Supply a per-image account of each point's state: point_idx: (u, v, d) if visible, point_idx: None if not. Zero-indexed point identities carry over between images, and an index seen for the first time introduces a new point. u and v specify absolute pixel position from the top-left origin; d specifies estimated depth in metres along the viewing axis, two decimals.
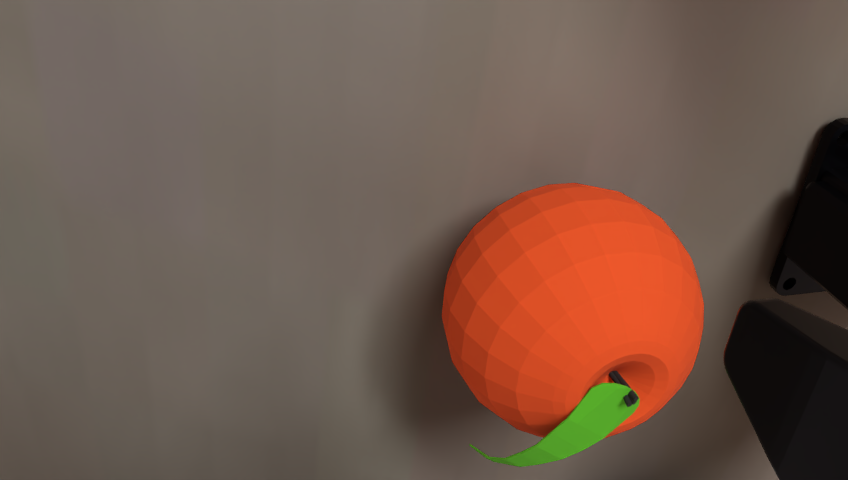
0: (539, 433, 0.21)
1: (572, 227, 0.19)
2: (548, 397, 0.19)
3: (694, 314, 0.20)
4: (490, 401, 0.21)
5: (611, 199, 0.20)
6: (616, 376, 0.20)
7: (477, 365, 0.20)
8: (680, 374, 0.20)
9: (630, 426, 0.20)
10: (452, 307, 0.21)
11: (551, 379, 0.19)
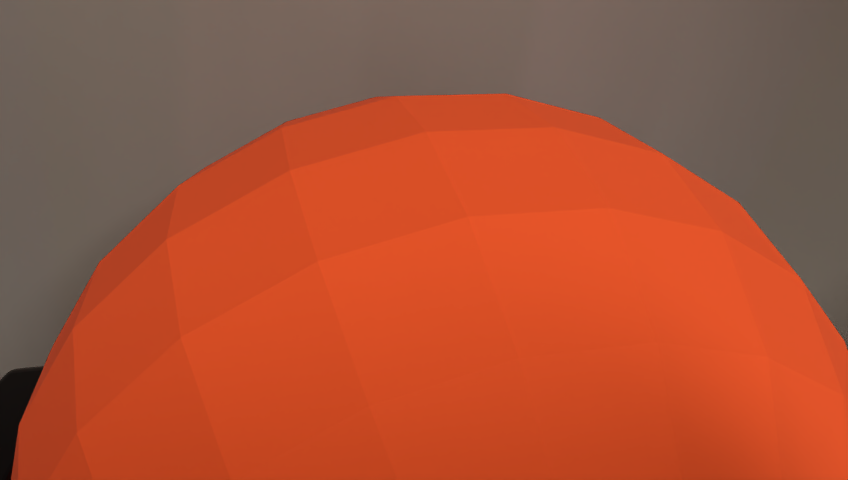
0: None
1: (392, 227, 0.05)
2: None
3: None
4: None
5: (565, 129, 0.06)
6: None
7: None
8: None
9: None
10: None
11: None
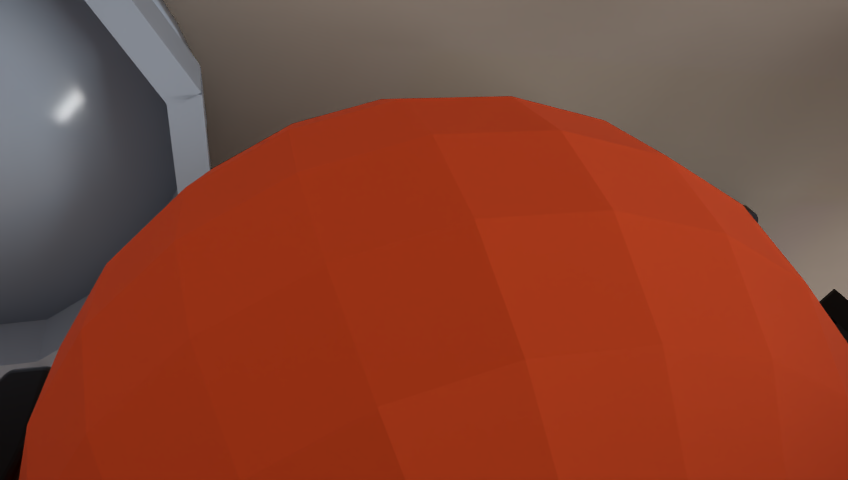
0: None
1: (399, 231, 0.05)
2: None
3: None
4: None
5: (571, 132, 0.06)
6: None
7: None
8: None
9: None
10: None
11: None
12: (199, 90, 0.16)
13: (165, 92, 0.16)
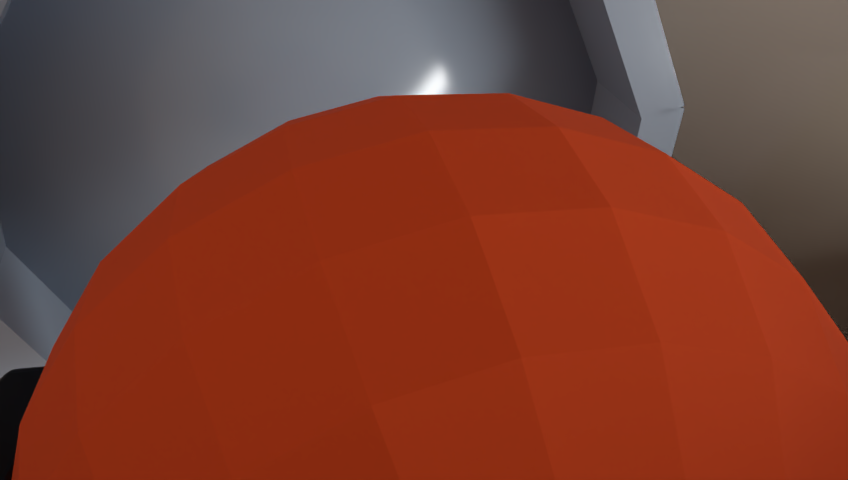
0: None
1: (395, 229, 0.05)
2: None
3: None
4: None
5: (568, 129, 0.06)
6: None
7: None
8: None
9: None
10: None
11: None
12: (682, 102, 0.13)
13: (645, 104, 0.12)
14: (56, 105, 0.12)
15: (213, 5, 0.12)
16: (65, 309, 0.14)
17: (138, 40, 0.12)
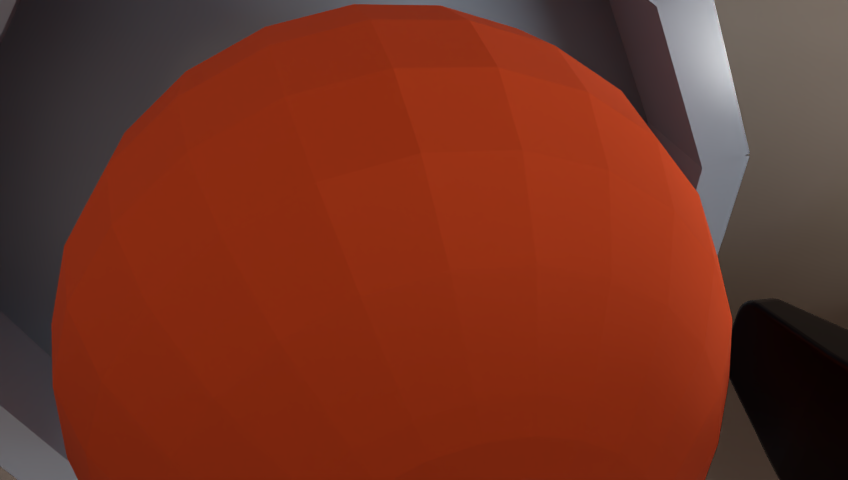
0: None
1: (338, 77, 0.06)
2: None
3: (707, 348, 0.07)
4: None
5: (477, 23, 0.07)
6: None
7: None
8: None
9: None
10: (54, 316, 0.08)
11: None
12: (748, 150, 0.11)
13: (707, 152, 0.11)
14: (52, 155, 0.10)
15: (228, 45, 0.10)
16: None
17: (144, 84, 0.10)
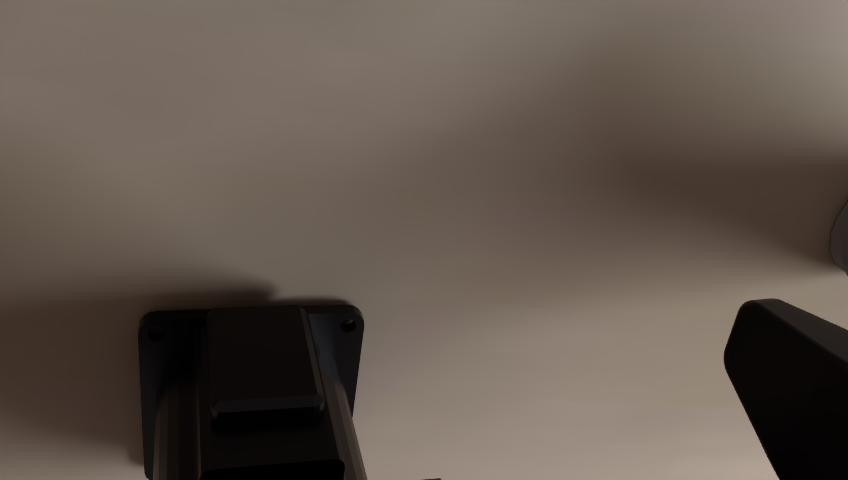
0: None
1: None
2: None
3: None
4: None
5: None
6: None
7: None
8: None
9: None
10: None
11: None
12: None
13: None
14: None
15: None
16: None
17: None
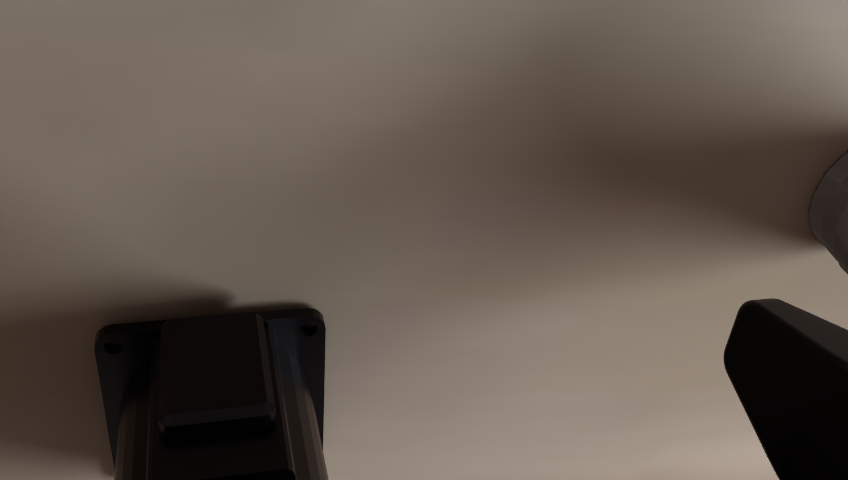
0: None
1: None
2: None
3: None
4: None
5: None
6: None
7: None
8: None
9: None
10: None
11: None
12: None
13: None
14: None
15: None
16: None
17: None
